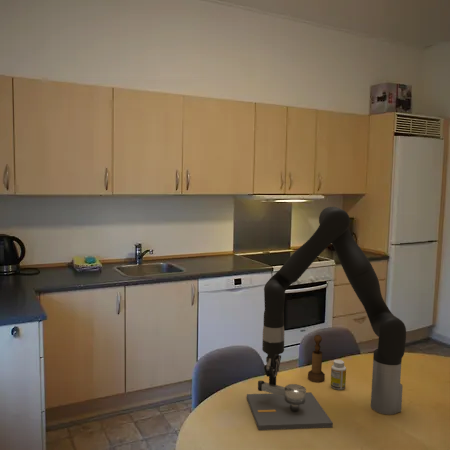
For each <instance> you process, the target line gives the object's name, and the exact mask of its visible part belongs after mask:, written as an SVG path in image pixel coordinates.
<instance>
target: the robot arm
mask: <svg viewBox="0 0 450 450" xmlns="http://www.w3.org/2000/svg"><path fill="white" fill-rule="evenodd" d="M318 224H319V225H318V227H317V228H316V230H315V231H314V233H313V234H312V235H311V236H310V237H309V239H307V240H306V242H304V243H303V244H302V245H301V246H300V247H298V248H297V249H296V250H295V251H294V252H293V253H292V254H291V255H290V256H289V257H288V259H287V260H286V261H285V262H284V263H283V265H282V266H281V267H280V269H279V270H277V271H276V273H274V274H273V275H272V276H271V277H270V278H269V279H267V282H266V283H265V285H264V286H263V287H264V288H263V297H264V298H263V299H264V300H263V301H264V311H263V327H262V343H261V344H262V348H261V350H262V351H263V353H265V354H266V355H267V356H266V358H265V362H266V364H265V365H264V367H263V369H264V371H265V375H266V377H268V383H270V384H274V385H277V375H278V372H279V371H280V365H281V359H282V355H281V354H284V352H285V313H284V312H285V311H284V310H285V303H286V302H285V299H286V291H287V289H288V288H289V287H290V286H291V285H292V284H293V283H294V284H295V283H296V282H297V281H298V280H300V278H301V276H302V275H303V274H304V273H305V272H306V271H307V269H309V267H310V266H311V265H312V264H313V263H314V262H315V260H316V259H317V258H319V256H320V255H321V254H322V253H323V252H324V251H325V250H326V249H327V248H328V247H329V246H330V245H332V246H333V249H334V250H335V252H336V256H337V258H338V261H339V263H340V265H341V267H342V269H343V272H344V274H345V277H346V278H347V281H348V282H349V284H350V286H351V288H352V290H353V291H354V293H355V295H356V296H357V298H358V300H359V302H360V303H361V304H362V306H363V308H364V310H365V313H366V316H367V318H368V320H369V323H370V326H371V329H372V330H373V332H374V334H375V335H376V336H377V337H378V344H377V348H376V349H375V350H374V351H373V354H372V355H373V356H372V375H371V377H372V379H371V393H370V408H371V409H372V410H373V411H374V412H376V413H379V414H382V415H389V416H390V415H396V414H398V413H401V412H402V405H403V404H402V403H403V387H404V386H403V384H402V383H401V375H402V360H403V357H404V355H405V352H406V351H405V350H406V341H407V340H406V339H407V329H406V325H405V323H404V322H403V320H402V319H400V318H399V317H397V316H396V315H394V314H393V312H391V310H390V309H389V307H388V305H387V304H386V301H385V300H384V298H383V296H382V292H381V285H380V281H379V277H378V275H377V273H376V271H375V269H374V267H373V265H372V263H371V261H370V260H369V258H368V257H367V255H366V254H365V252H364V251H363V250H362V248H361V247H360V246H359V245H358V244H357V242H356V240H355V239H354V237H353V235H352V233H351V231H350V230H351V229H350V224H351V219H350V215H349V213H348V212H347V211H346V210H344V209H342V208H341V207H337V206H328V207H325V208H323V209H322V210H321V212H320V214H319V216H318Z"/></svg>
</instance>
